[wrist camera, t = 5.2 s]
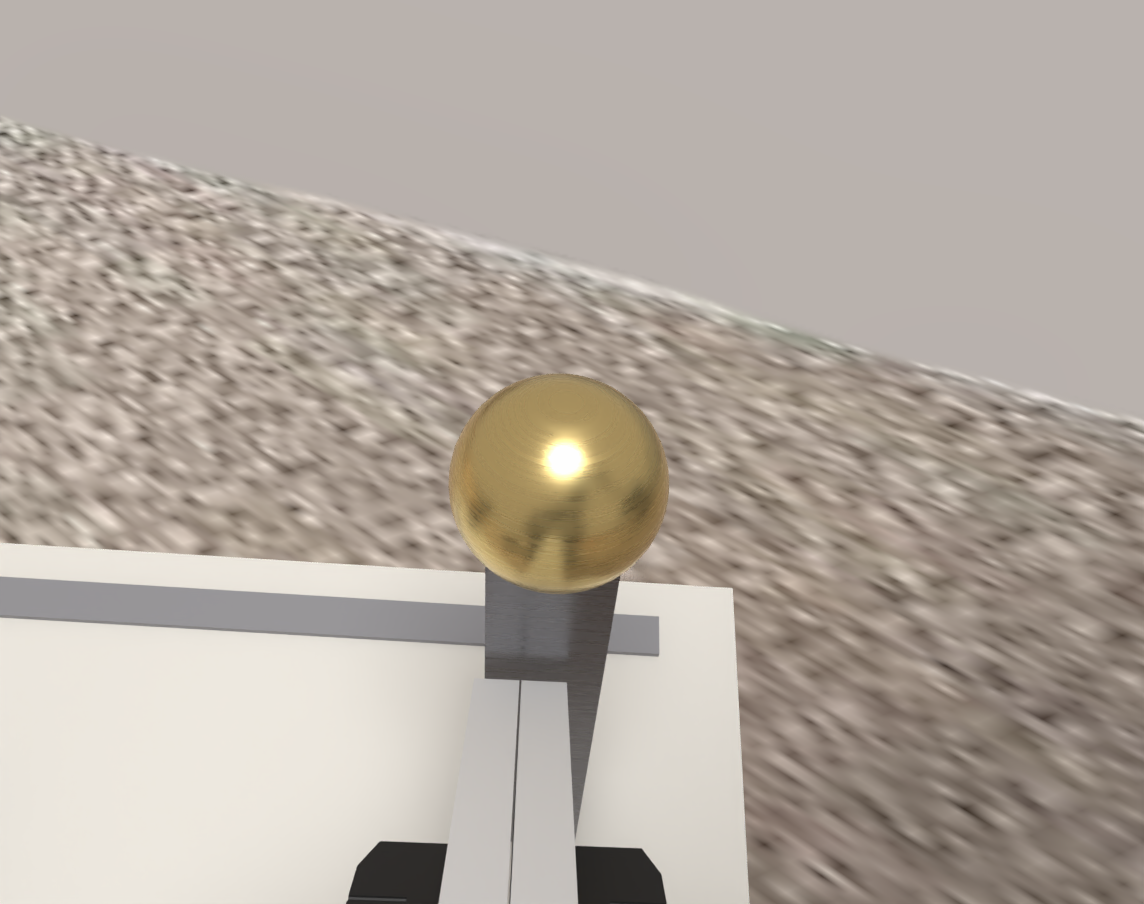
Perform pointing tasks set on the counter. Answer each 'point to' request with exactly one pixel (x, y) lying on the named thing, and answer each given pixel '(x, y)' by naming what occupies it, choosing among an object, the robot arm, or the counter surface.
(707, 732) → the control panel
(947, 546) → the counter surface
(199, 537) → the counter surface
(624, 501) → the brass lever
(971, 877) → the counter surface
